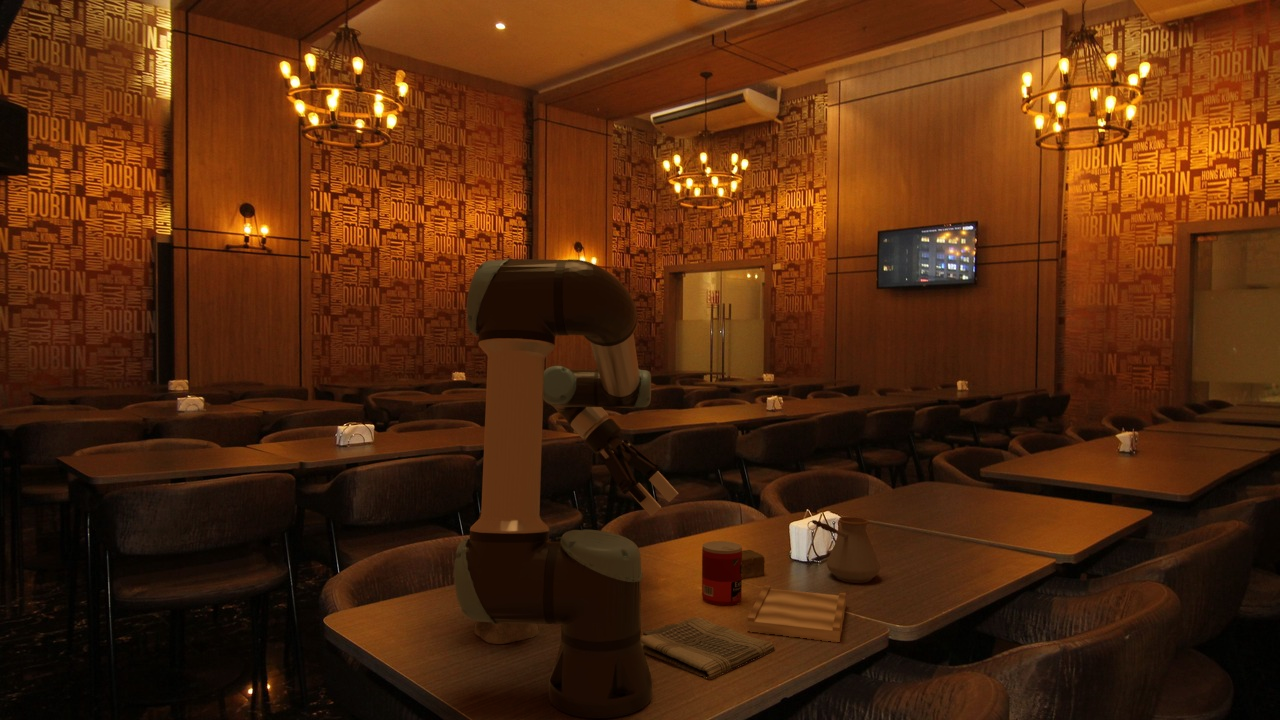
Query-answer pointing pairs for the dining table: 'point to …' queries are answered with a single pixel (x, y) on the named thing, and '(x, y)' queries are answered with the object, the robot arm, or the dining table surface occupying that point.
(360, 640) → the dining table surface
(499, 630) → the figurine
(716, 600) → the canned food
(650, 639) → the dish towel
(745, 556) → the stone block
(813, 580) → the dining table surface
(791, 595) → the board
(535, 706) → the dining table surface
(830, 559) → the coffee pot
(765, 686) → the dining table surface
